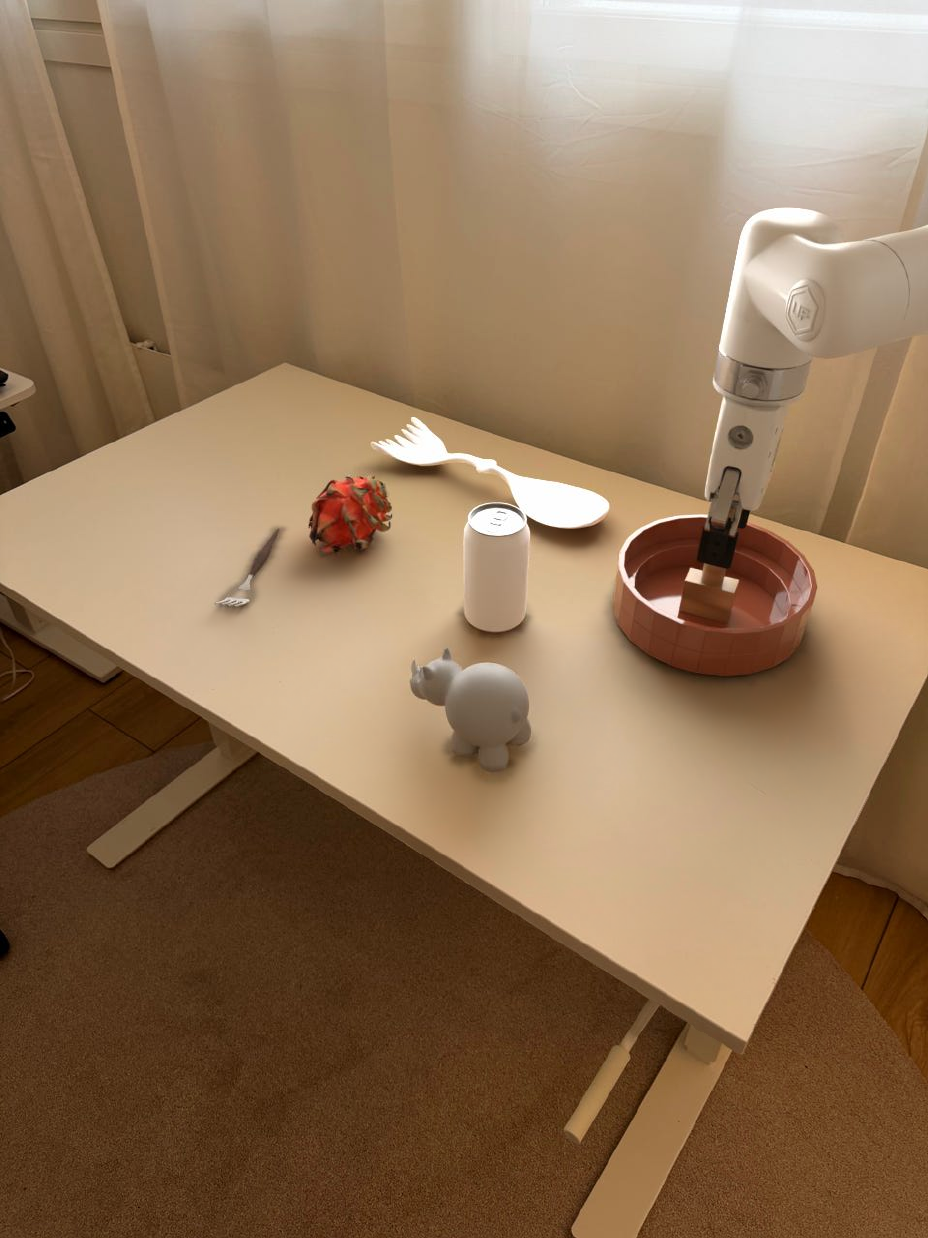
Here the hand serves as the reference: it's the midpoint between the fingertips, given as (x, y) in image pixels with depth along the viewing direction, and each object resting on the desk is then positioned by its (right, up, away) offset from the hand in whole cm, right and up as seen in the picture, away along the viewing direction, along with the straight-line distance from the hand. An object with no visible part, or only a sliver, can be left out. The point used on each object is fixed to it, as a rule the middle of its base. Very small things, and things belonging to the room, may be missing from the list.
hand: (722, 542), depth 87 cm
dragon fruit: (-38, +1, +16) cm, 41 cm away
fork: (-48, -3, +12) cm, 50 cm away
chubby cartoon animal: (-25, -18, -6) cm, 31 cm away
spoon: (-22, +9, +25) cm, 34 cm away
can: (-22, -7, +6) cm, 24 cm away
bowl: (0, -7, +6) cm, 9 cm away
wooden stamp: (0, -7, +6) cm, 9 cm away
